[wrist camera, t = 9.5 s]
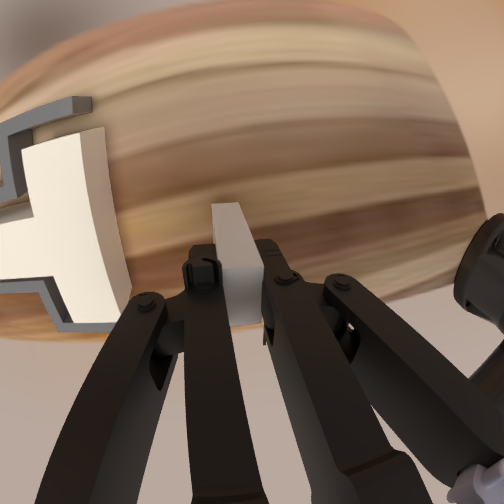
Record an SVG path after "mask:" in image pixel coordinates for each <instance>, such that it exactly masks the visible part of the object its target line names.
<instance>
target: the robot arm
mask: <svg viewBox="0 0 504 504" xmlns="http://www.w3.org/2000/svg"><path fill="white" fill-rule="evenodd" d="M211 207H212V227H213V244H202V245H193V247H192V248H191V249H190V250H189V260H187V261H186V262H185V263H184V264H183V266H182V271H183V278H184V284H185V290H184V291H183V292H181V293H180V294H178V295H176V296H174V297H171V298H168V299H164V297H163V296H162V295H160V294H159V293H156V292H144V293H140V294H138V295H136V296H134V297H133V298H132V299H131V300H130V301H129V302H128V304H127V306H126V307H125V309H124V311H123V312H122V314H121V316H120V317H119V319H118V321H117V322H116V324H115V326H114V328H113V329H112V331H111V333H110V334H109V336H108V338H107V340H106V342H105V343H104V345H103V347H102V349H101V351H100V352H99V354H98V356H97V358H96V360H95V362H94V364H93V365H92V367H91V369H90V371H89V373H88V375H87V377H86V379H85V381H84V383H83V385H82V387H81V389H80V391H79V393H78V395H77V397H76V399H75V401H74V404H73V406H72V408H71V410H70V412H69V414H68V416H67V418H66V421H65V423H64V425H63V428H62V430H61V432H60V434H59V437H58V439H57V442H56V444H55V447H54V449H53V452H52V454H51V457H50V459H49V462H48V465H47V467H46V471H45V473H44V476H43V479H42V481H41V484H40V488H39V491H38V494H37V498H36V500H35V504H137V500H138V495H139V491H140V487H141V483H142V479H143V475H144V472H145V468H146V464H147V460H148V456H149V453H150V449H151V445H152V442H153V438H154V435H155V431H156V428H157V424H158V420H159V417H160V414H161V410H162V407H163V404H164V400H165V397H166V394H167V390H168V387H169V384H170V380H171V377H172V374H173V371H174V368H175V364H176V361H177V358H178V353H181V352H184V379H185V406H186V425H187V439H188V452H189V463H190V473H191V482H192V492H193V498H192V502H191V504H269V502H268V499H267V497H266V494H265V492H264V489H263V486H262V482H261V478H260V474H259V470H258V466H257V461H256V457H255V452H254V448H253V443H252V439H251V434H250V429H249V425H248V420H247V415H246V410H245V405H244V401H243V395H242V390H241V385H240V380H239V375H238V369H237V364H236V359H235V353H234V347H233V342H232V337H231V330H230V326H240V325H249V324H258V323H261V319H262V316H263V320H264V335H263V345H266V341H267V345H268V348H269V352H270V355H271V358H272V361H273V365H274V369H275V372H276V375H277V379H278V382H279V385H280V389H281V392H282V395H283V399H284V402H285V405H286V409H287V412H288V415H289V418H290V422H291V425H292V428H293V432H294V435H295V438H296V442H297V445H298V448H299V451H300V454H301V457H302V461H303V464H304V467H305V471H306V474H307V477H308V480H309V483H310V487H311V492H312V494H311V501H312V504H433V503H432V500H431V498H430V496H429V494H428V492H427V489H426V487H425V485H424V482H423V480H422V478H421V476H420V474H419V472H418V470H417V467H416V465H415V463H414V462H413V460H412V459H411V457H410V456H409V455H407V454H406V453H405V452H402V451H398V450H395V449H393V447H392V446H391V445H390V443H389V442H388V440H387V437H386V435H385V433H384V431H383V429H382V427H381V425H380V423H379V421H378V419H377V417H376V415H375V413H374V411H373V409H372V407H371V405H372V406H373V408H374V409H375V410H376V411H377V413H378V414H379V415H380V416H381V417H382V418H383V420H384V421H385V422H386V423H387V424H388V425H389V427H390V428H391V429H392V430H393V431H394V432H395V434H396V435H397V436H398V437H399V438H400V439H401V441H402V442H403V443H404V444H405V445H406V446H407V448H408V449H409V450H410V451H411V452H412V453H413V455H414V456H415V457H416V458H417V459H418V460H419V461H420V463H421V464H422V465H423V466H424V467H425V468H426V469H427V470H428V471H429V472H430V473H431V474H432V475H433V476H434V477H435V478H436V479H438V480H439V481H440V482H442V483H443V484H445V485H447V486H449V487H451V489H450V490H449V492H448V494H447V500H448V502H450V503H457V504H504V340H503V341H502V342H501V344H500V345H499V346H498V347H497V348H496V349H495V350H494V351H493V353H492V354H491V355H490V356H489V357H488V358H487V359H486V360H485V362H484V363H483V364H482V365H481V366H480V367H479V368H478V369H477V370H476V371H475V372H474V373H473V374H472V375H471V376H470V377H469V378H466V376H464V375H463V374H462V373H461V372H460V371H459V370H458V369H457V368H456V367H455V366H454V365H453V364H452V363H451V362H450V361H449V360H448V359H446V358H445V357H444V356H443V355H442V354H441V353H440V352H439V351H438V350H437V349H436V348H435V347H433V346H432V345H431V344H430V343H429V342H428V341H427V340H425V339H424V338H423V337H422V336H421V335H420V334H419V333H418V332H416V330H414V329H413V328H412V327H411V326H410V325H409V324H408V323H407V322H405V321H404V320H403V319H402V318H401V317H400V316H398V315H397V314H396V313H395V312H394V311H393V310H392V309H390V308H389V307H388V306H387V305H386V304H385V303H383V302H382V301H381V300H380V299H379V298H377V297H376V296H375V295H374V294H373V293H371V292H370V291H369V290H368V289H367V288H365V287H364V286H363V285H362V284H361V283H359V282H358V281H357V280H356V279H354V278H353V277H351V276H348V275H345V274H331V275H329V276H327V278H326V279H325V282H324V284H317V283H309V282H305V281H304V279H303V277H302V276H301V275H300V274H299V273H297V272H296V271H294V270H290V268H289V266H288V264H287V262H286V260H285V258H284V257H283V256H282V253H281V251H280V249H279V247H278V245H277V244H276V243H275V242H273V241H272V240H270V239H260V240H253V237H252V235H251V232H250V230H249V227H248V225H247V222H246V220H245V217H244V215H243V212H242V210H241V207H240V205H239V202H235V203H218V204H211ZM454 298H455V300H456V301H457V303H459V305H461V307H462V308H463V309H465V310H466V311H468V312H470V313H472V314H474V315H476V316H478V317H480V318H483V319H485V320H487V321H489V322H491V323H493V324H495V325H496V326H497V327H498V329H499V330H500V331H501V332H502V333H503V334H504V214H503V213H499V214H496V215H494V216H493V217H491V218H490V219H489V220H488V221H487V222H486V223H485V224H484V225H483V227H482V228H481V229H480V231H479V232H478V233H477V235H476V236H475V238H474V240H473V241H472V243H471V245H470V246H469V248H468V250H467V252H466V254H465V256H464V258H463V260H462V263H461V265H460V268H459V270H458V273H457V276H456V280H455V284H454ZM349 323H350V324H351V325H352V326H353V327H354V330H352V329H351V328H350V327H349V326H348V325H349ZM370 404H371V405H370Z"/></svg>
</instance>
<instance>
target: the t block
mask: <svg viewBox="0 0 504 504" xmlns="http://www.w3.org/2000/svg"><path fill="white" fill-rule="evenodd" d="M21 151H22V159H23V166H24V172H25V178H26V183H27V188H28V193H29V198H30V201H29V202H24V203H20V204H16V205H12V206H8V207H4V208H0V279H16V278H31V277H46V276H53V277H54V279H55V282H56V284H57V287H58V289H59V291H60V294H61V296H62V298H63V301H64V303H65V305H66V307H67V309H68V312H69V314H70V316H71V318H72V320H73V322H74V323H107V322H117V321H118V319H119V317H120V316H121V314H122V312H123V311H124V309H125V307H126V306H127V304H128V301H129V297H130V293H131V289H132V284H131V280H130V277H129V273H128V269H127V265H126V261H125V257H124V253H123V248H122V244H121V239H120V235H119V230H118V225H117V220H116V215H115V209H114V203H113V197H112V191H111V184H110V177H109V170H108V161H107V152H106V142H105V129H104V127H99V128H94V129H90V130H85V131H81V132H77V133H73V134H69V135H65V136H61V137H57V138H54V139H51V140H47V141H44V142H41V143H38V144H36V145H33V146H30V147H27V148H25V149H22V150H21Z"/></svg>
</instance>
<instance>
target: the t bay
mask: <svg viewBox="0 0 504 504" xmlns="http://www.w3.org/2000/svg"><path fill="white" fill-rule="evenodd" d="M89 112H92V97H79V96H71V97H68V98H65V99H61V100H58V101H55V102H52V103H49V104H46V105H43V106H40V107H38V108H35V109H32V110H30V111H27V112H25V113H22V114H20V115H17V116H15V117H13V118H11V119H8V120H6V121H4V122H2V123H0V166H1V172H2V177H3V181H0V203H2V202H5V201H9V200H13V199H17V198H19V197H20V196H21V195H23V194H24V193H26V192H27V191H28V188H27V183H26V178H25V172H24V166H23V159H22V151H21V150H22V149H25V148H27V147H30V146H33V139H32V129H34V128H37V127H40V126H43V125H46V124H49V123H52V122H56V121H59V120H62V119H66V118H70V117H73V116H77V115H81V114H85V113H89ZM31 292H39V294H40V297H41V299H42V301H43V303H44V305H45V307H46V309H47V311H48V313H49V315H50V317H51V319H52V321H53V323H54V325H55V327H56V328H57V330H58V332H111V331H112V329H113V328H114V326H115V324H116V322H107V323H74V322H73V320H72V318H71V316H70V314H69V312H68V309H67V307H66V305H65V303H64V301H63V298H62V296H61V294H60V291H59V289H58V287H57V284H56V282H55V279H54V277H53V276H46V277H31V278H16V279H0V293H31Z"/></svg>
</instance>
